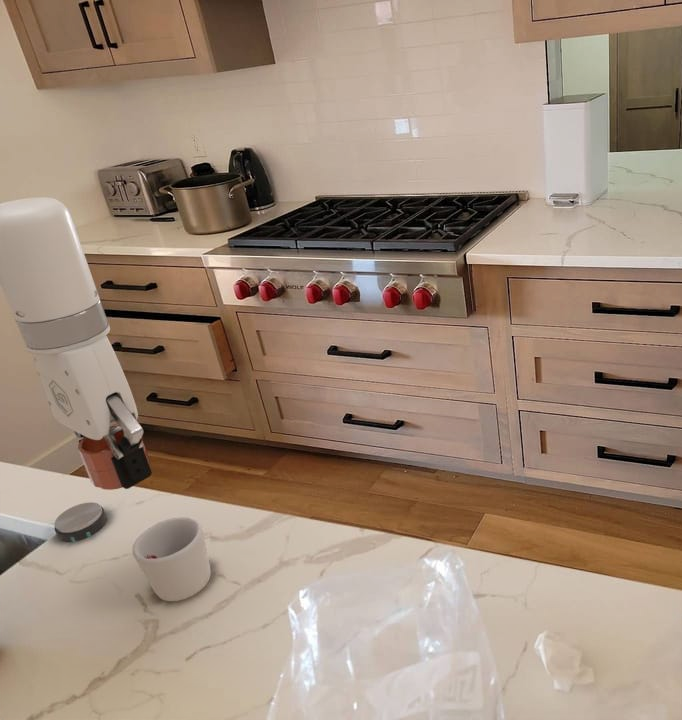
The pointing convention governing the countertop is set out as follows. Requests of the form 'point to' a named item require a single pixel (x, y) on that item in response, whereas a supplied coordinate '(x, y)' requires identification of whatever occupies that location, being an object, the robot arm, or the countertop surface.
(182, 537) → the cup
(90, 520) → the scale
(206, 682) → the countertop surface
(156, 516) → the countertop surface
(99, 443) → the terracotta plant pot
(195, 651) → the countertop surface
